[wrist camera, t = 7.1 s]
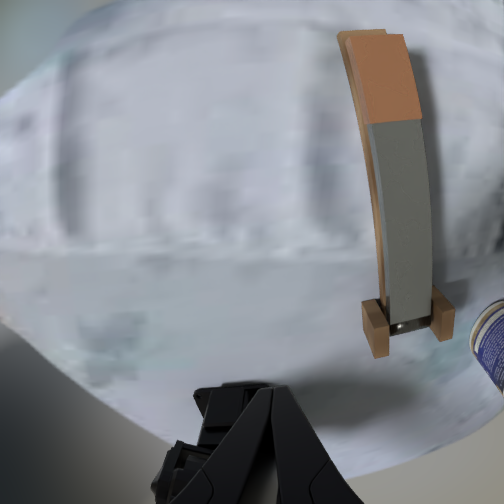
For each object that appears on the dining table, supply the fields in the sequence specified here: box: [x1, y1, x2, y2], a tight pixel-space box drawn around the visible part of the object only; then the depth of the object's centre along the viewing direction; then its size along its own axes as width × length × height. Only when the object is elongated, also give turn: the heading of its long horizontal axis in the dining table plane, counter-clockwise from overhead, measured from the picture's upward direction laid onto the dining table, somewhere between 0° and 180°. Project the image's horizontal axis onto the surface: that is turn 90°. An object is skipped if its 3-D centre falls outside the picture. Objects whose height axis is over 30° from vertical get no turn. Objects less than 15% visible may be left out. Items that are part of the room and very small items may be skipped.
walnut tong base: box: [337, 29, 455, 359], centre depth 17 cm, size 20×6×4 cm, turn 12°
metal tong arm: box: [345, 34, 432, 337], centre depth 17 cm, size 19×3×1 cm, turn 13°
